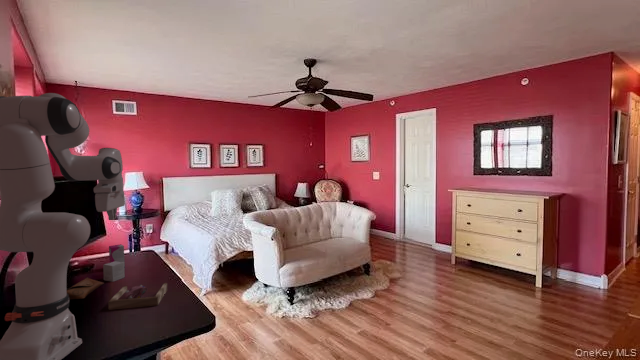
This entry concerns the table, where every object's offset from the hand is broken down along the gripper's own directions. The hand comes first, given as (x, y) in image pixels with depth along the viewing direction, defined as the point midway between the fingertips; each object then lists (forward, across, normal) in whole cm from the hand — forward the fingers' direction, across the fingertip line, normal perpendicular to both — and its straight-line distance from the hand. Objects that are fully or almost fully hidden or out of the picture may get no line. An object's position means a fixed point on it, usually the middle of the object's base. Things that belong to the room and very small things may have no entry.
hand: (112, 219), depth 139 cm
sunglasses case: (+30, 0, -11) cm, 32 cm away
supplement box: (+30, -31, -10) cm, 44 cm away
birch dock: (+30, +16, +14) cm, 36 cm away
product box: (+30, -13, -5) cm, 33 cm away
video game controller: (+30, +16, +12) cm, 36 cm away
